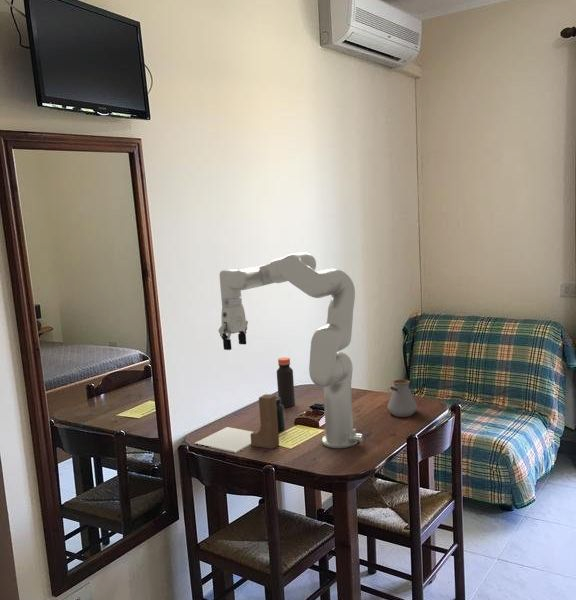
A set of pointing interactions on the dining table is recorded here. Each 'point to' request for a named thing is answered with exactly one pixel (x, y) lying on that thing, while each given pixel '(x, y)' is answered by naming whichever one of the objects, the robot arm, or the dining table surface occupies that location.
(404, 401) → the coffee pot
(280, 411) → the supplement bottle
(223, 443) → the off-white mat
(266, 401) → the wooden block
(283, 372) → the vinegar
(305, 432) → the dining table surface
